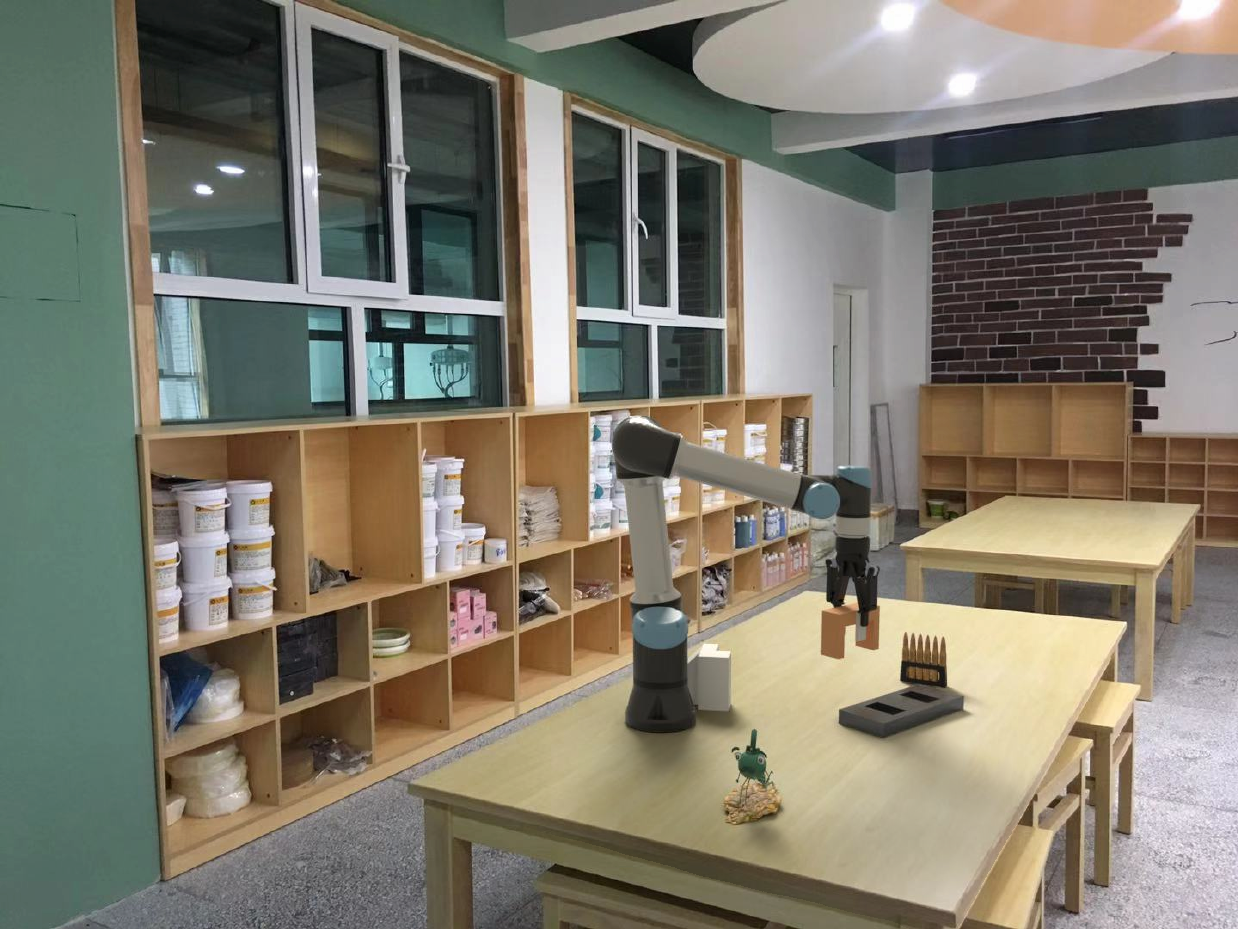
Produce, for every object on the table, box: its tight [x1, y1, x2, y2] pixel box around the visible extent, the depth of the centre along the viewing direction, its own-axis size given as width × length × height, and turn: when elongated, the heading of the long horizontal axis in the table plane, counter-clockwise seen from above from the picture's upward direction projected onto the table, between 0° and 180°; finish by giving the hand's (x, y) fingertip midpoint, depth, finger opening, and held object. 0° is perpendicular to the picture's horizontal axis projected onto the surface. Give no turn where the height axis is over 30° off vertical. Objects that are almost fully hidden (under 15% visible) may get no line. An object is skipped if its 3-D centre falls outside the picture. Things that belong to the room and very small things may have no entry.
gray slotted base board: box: [838, 684, 965, 739], centre depth 225 cm, size 28×12×3 cm, turn 128°
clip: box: [820, 602, 881, 661], centre depth 234 cm, size 14×5×10 cm, turn 128°
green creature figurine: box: [723, 728, 783, 825], centre depth 179 cm, size 10×18×15 cm, turn 145°
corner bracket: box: [687, 643, 732, 712], centre depth 235 cm, size 11×11×12 cm
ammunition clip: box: [899, 631, 948, 689], centre depth 247 cm, size 11×2×12 cm, turn 59°
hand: (850, 637), depth 234 cm, fingers closed on clip, 5 cm apart
